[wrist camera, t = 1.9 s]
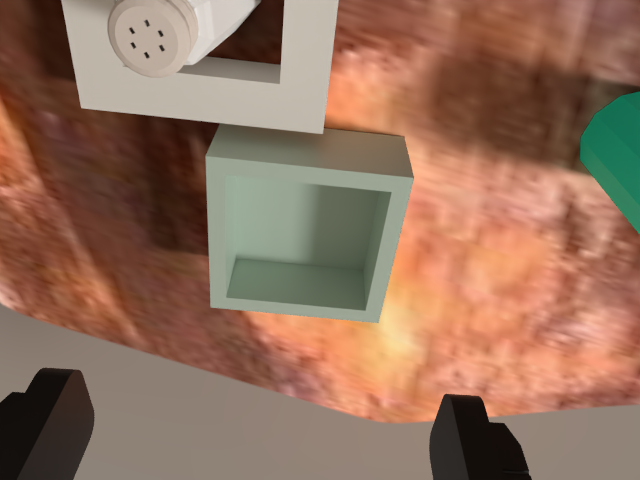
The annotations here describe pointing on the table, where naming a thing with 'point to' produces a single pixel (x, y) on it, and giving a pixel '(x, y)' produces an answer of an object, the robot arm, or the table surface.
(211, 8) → the pepper shaker
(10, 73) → the table surface
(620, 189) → the candle
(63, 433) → the robot arm
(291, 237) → the bin
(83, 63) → the cradle
